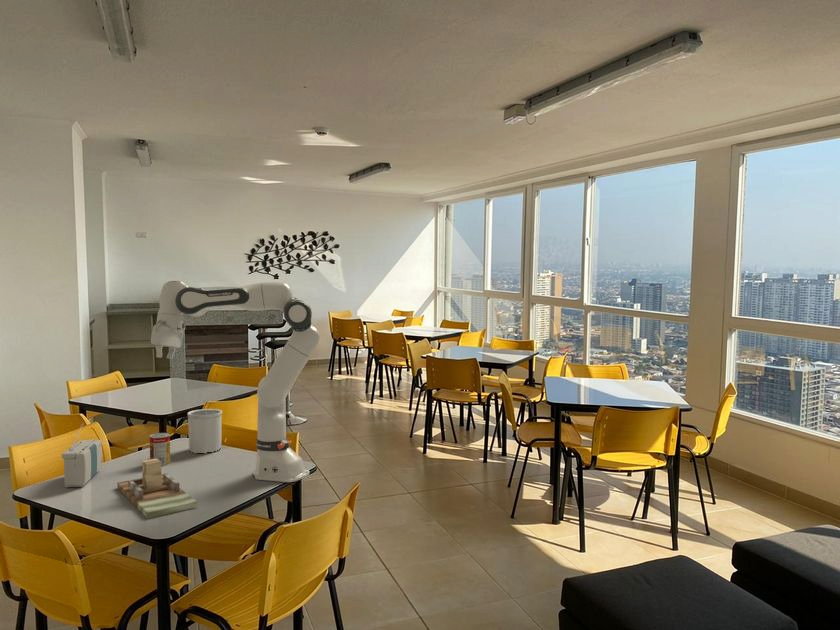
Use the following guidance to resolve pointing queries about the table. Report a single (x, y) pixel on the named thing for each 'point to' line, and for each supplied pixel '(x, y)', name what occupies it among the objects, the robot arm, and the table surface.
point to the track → (157, 497)
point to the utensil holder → (204, 430)
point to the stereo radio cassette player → (82, 462)
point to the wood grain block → (152, 476)
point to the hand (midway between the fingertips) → (164, 358)
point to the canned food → (160, 447)
